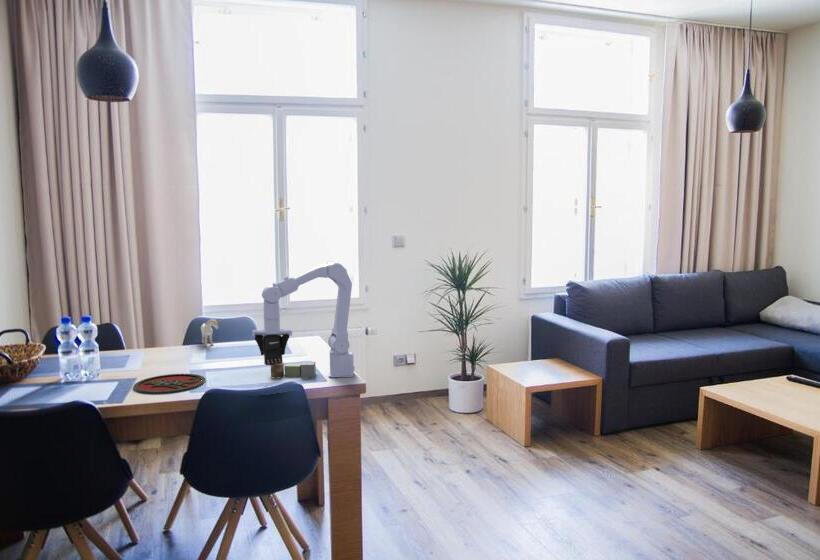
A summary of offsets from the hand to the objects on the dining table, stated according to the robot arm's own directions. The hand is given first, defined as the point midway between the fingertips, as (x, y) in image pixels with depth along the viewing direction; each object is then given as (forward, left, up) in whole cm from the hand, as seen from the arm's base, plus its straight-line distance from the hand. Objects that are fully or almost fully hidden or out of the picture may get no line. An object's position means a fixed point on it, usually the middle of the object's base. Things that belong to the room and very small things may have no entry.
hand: (273, 354), depth 231 cm
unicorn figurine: (+41, -70, -11) cm, 82 cm away
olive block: (-6, -10, -11) cm, 16 cm away
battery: (0, 0, -4) cm, 4 cm away
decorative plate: (+38, +1, -11) cm, 40 cm away
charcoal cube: (-12, -8, -10) cm, 18 cm away
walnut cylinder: (0, -8, -10) cm, 13 cm away
